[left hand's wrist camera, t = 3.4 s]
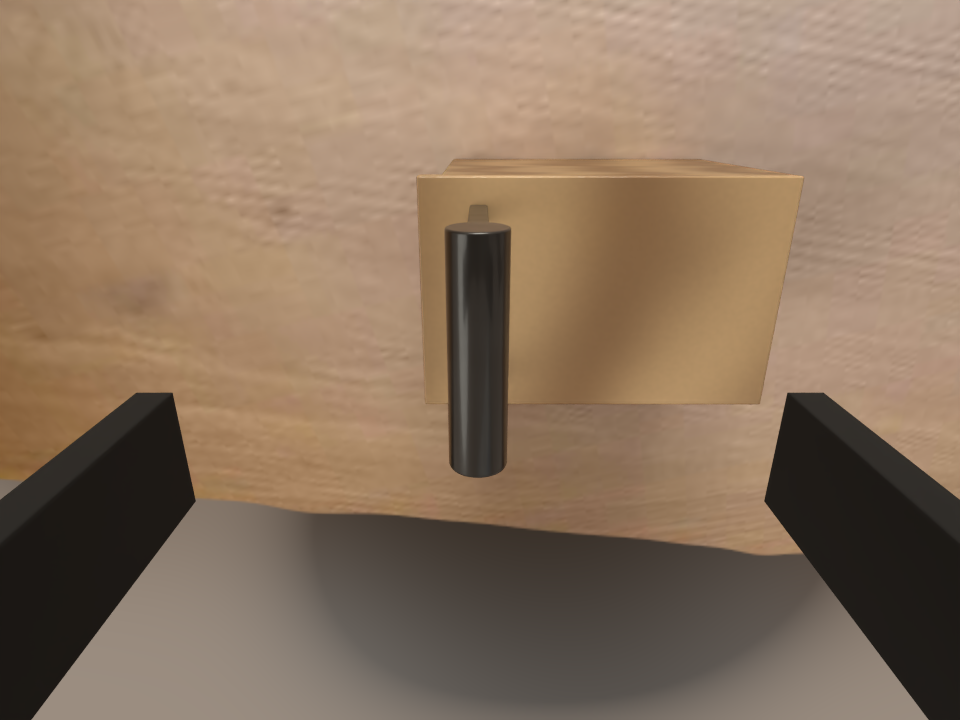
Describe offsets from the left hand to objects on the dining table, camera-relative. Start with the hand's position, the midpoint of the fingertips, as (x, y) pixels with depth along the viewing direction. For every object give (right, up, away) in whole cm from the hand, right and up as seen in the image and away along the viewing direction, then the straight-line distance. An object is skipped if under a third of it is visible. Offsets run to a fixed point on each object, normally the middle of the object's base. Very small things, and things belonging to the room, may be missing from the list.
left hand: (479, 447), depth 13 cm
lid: (+5, +5, +12) cm, 14 cm away
